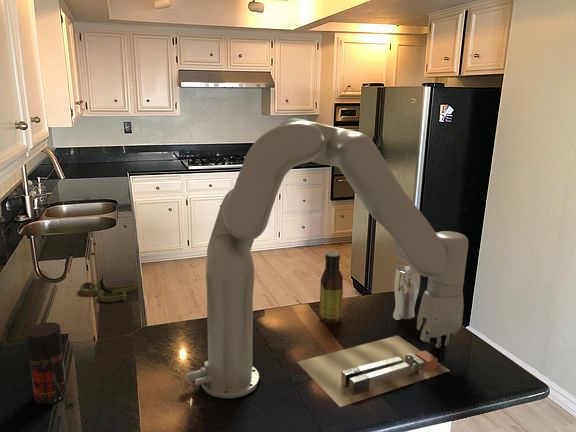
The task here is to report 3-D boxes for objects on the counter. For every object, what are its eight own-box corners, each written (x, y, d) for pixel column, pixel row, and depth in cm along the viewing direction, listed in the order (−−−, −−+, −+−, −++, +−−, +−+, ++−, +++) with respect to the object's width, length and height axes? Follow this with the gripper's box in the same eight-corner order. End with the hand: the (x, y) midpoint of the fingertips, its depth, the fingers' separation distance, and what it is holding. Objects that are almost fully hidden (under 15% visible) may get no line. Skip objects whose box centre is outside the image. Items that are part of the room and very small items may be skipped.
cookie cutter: (143, 290, 149) (143, 285, 149) (118, 305, 138) (118, 299, 138) (97, 282, 155) (97, 276, 154) (70, 296, 144) (69, 290, 143)
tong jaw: (397, 368, 107) (398, 356, 106) (401, 371, 105) (402, 360, 105) (341, 383, 100) (341, 371, 100) (345, 387, 99) (345, 375, 98)
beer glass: (386, 314, 136) (390, 266, 133) (406, 311, 139) (411, 263, 135) (400, 325, 130) (405, 274, 126) (421, 321, 133) (426, 272, 129)
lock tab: (424, 359, 110) (425, 350, 110) (436, 368, 107) (437, 358, 106) (414, 362, 109) (415, 353, 108) (426, 371, 106) (427, 361, 105)
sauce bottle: (327, 312, 137) (330, 247, 132) (345, 319, 133) (349, 252, 128) (314, 320, 132) (317, 253, 127) (332, 327, 128) (336, 258, 123)
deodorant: (30, 395, 96) (22, 328, 92) (60, 383, 100) (53, 319, 96) (40, 408, 92) (31, 340, 88) (71, 396, 96) (64, 329, 92)
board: (339, 412, 93) (340, 406, 93) (296, 366, 109) (296, 362, 108) (449, 375, 107) (449, 370, 106) (397, 339, 122) (397, 335, 122)
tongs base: (409, 363, 109) (411, 350, 108) (423, 374, 105) (425, 359, 104) (341, 384, 100) (342, 369, 99) (354, 396, 96) (355, 381, 95)
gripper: (456, 275, 111) (447, 345, 116) (407, 285, 105) (401, 358, 109) (481, 287, 105) (471, 359, 110) (432, 298, 98) (423, 375, 103)
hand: (436, 359), depth 109 cm, fingers closed
